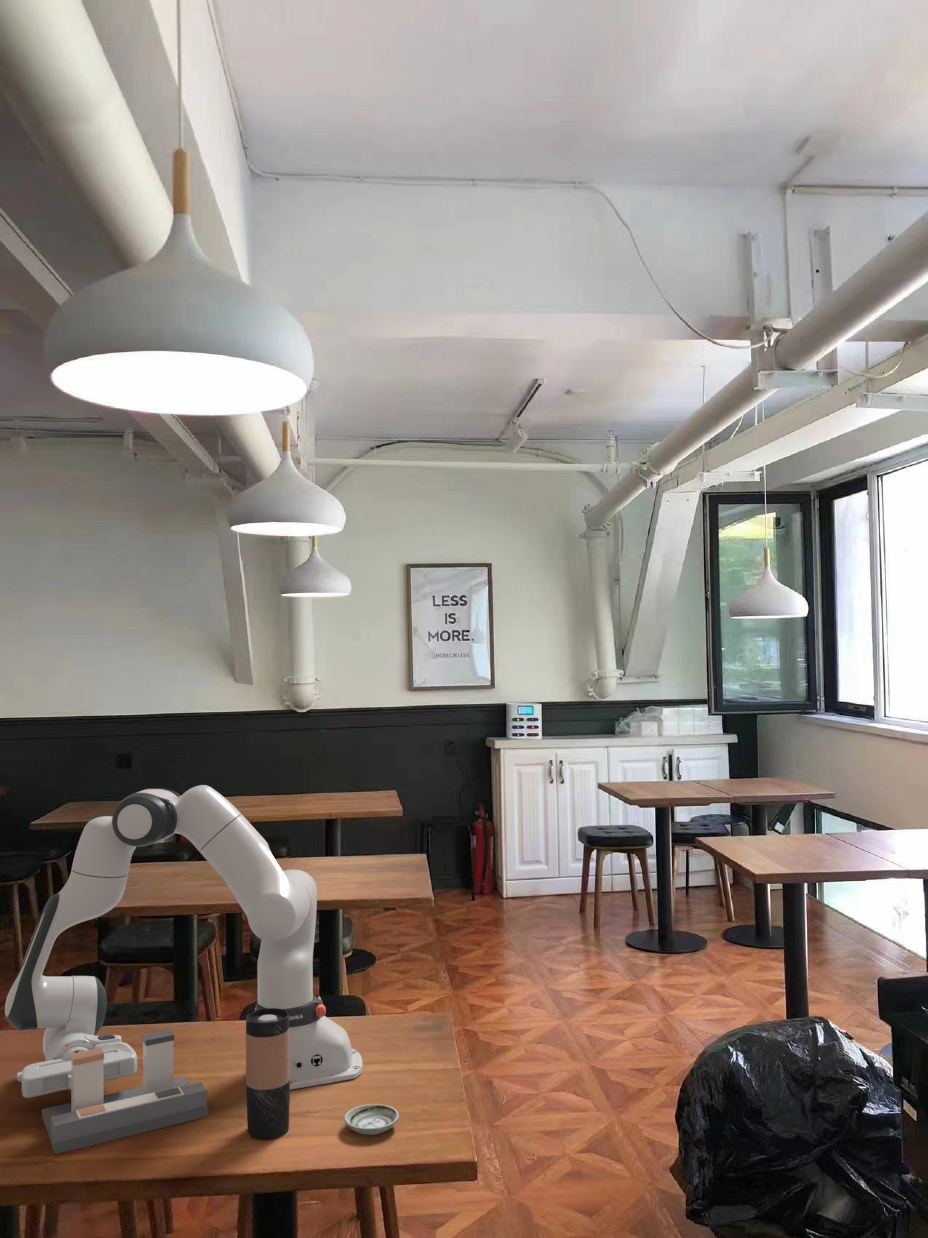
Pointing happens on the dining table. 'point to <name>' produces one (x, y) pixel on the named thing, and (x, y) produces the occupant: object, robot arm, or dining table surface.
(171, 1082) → the charcoal key
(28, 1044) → the dining table surface
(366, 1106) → the saucer
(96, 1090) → the terracotta key
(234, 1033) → the dining table surface
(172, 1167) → the dining table surface
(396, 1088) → the dining table surface
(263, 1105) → the travel mug
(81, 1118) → the key console
